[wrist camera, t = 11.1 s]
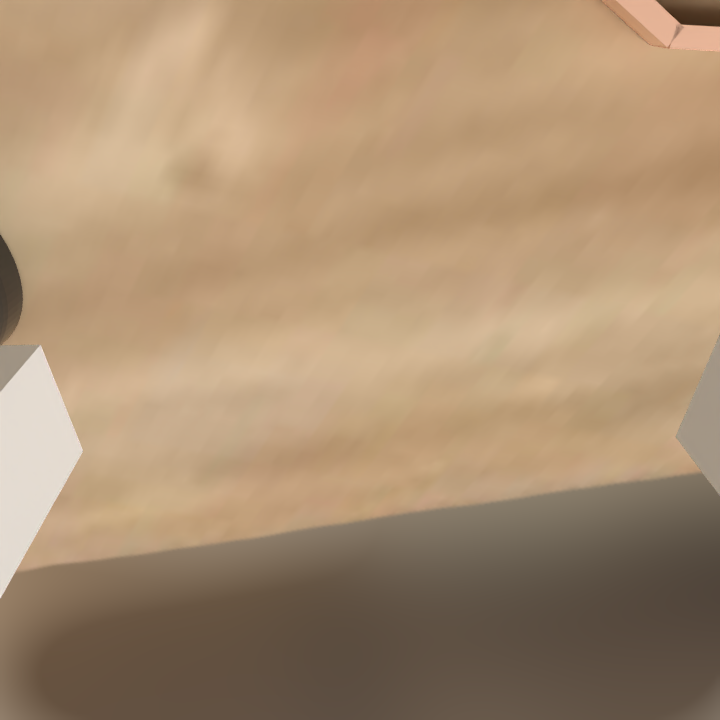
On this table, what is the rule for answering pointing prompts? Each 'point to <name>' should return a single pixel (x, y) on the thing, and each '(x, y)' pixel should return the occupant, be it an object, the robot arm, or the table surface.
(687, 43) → the pink segmented ring
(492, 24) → the table surface
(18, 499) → the robot arm
